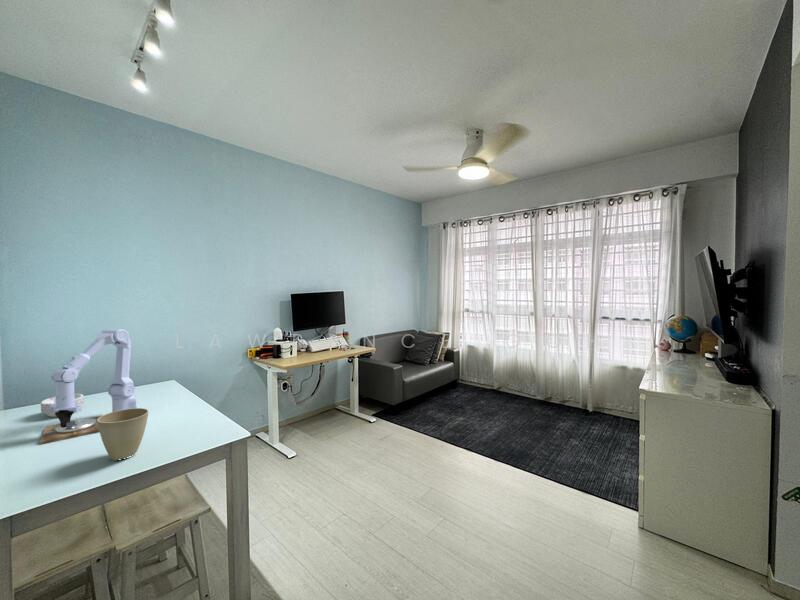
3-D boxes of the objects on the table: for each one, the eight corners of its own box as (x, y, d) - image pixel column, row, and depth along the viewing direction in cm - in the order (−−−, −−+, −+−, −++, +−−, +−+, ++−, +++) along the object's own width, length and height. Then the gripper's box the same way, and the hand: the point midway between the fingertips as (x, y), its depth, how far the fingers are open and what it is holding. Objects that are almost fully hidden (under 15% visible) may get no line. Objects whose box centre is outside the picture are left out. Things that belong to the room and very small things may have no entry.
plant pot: (138, 463, 119) (137, 420, 118) (88, 469, 115) (87, 424, 114) (155, 444, 133) (155, 406, 133) (112, 449, 129) (111, 409, 129)
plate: (106, 417, 160) (105, 414, 160) (106, 430, 146) (106, 427, 146) (46, 429, 147) (46, 426, 147) (40, 444, 132) (40, 441, 132)
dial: (64, 423, 150) (64, 414, 149) (101, 419, 155) (100, 410, 155) (48, 435, 138) (47, 425, 137) (88, 430, 143) (87, 420, 143)
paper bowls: (45, 422, 155) (45, 405, 154) (37, 415, 163) (36, 399, 162) (88, 412, 167) (88, 396, 167) (78, 406, 175) (78, 391, 175)
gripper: (40, 397, 138) (40, 428, 139) (67, 400, 136) (68, 432, 136) (60, 392, 145) (60, 422, 146) (86, 394, 143) (87, 425, 143)
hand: (65, 426), depth 142 cm, fingers closed, pressing on dial
